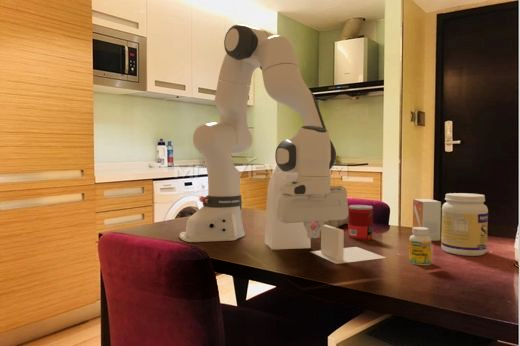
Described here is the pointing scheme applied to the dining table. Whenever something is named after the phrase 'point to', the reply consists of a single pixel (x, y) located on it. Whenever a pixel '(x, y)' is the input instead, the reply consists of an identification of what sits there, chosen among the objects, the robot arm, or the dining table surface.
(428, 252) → the supplement bottle
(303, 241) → the milk
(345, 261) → the mat
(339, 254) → the tile
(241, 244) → the dining table surface
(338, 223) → the decorative bottle
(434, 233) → the small box
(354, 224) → the canned food
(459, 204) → the supplement tub
